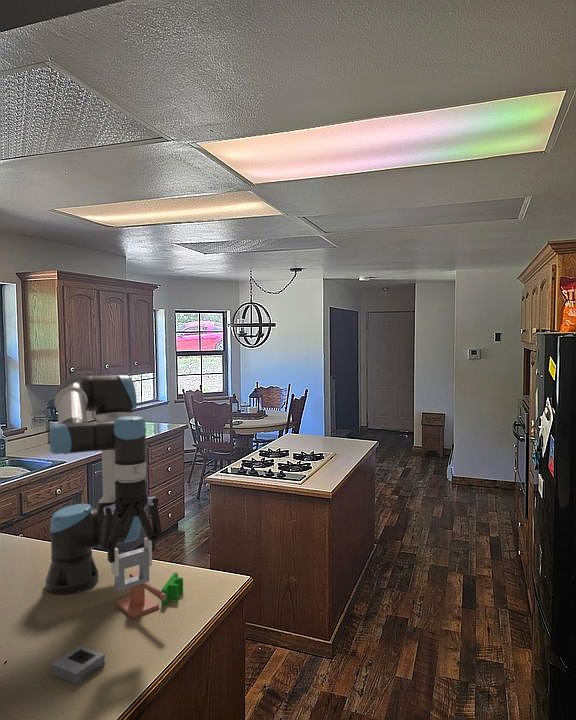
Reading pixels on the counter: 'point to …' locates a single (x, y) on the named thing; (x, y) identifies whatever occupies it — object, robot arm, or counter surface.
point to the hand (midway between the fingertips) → (132, 569)
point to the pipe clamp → (172, 588)
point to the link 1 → (77, 664)
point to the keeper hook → (140, 599)
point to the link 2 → (131, 560)
